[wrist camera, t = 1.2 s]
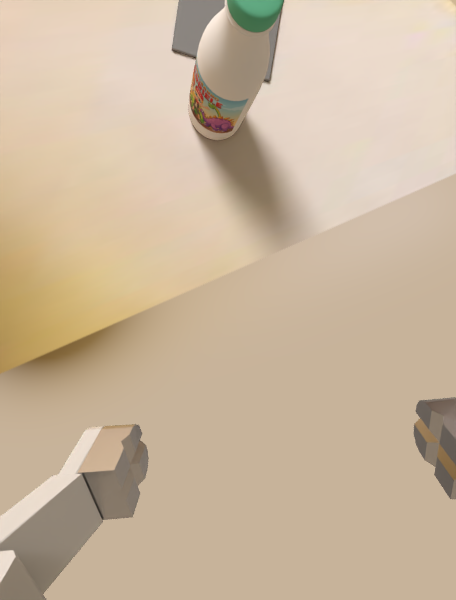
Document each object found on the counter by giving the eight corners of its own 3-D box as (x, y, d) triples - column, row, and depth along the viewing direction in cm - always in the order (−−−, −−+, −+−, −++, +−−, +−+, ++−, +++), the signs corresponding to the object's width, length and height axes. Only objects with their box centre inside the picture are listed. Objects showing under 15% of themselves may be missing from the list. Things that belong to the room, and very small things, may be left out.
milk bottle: (214, 72, 43) (258, -93, 23) (251, 117, 44) (322, -2, 25) (176, 109, 42) (188, -28, 23) (215, 153, 44) (259, 61, 24)
